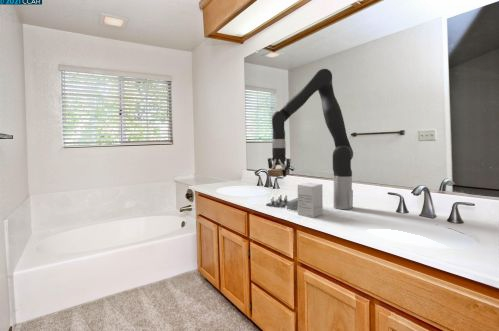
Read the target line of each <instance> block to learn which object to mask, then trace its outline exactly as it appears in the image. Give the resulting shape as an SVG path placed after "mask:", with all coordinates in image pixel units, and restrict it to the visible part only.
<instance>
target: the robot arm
mask: <svg viewBox="0 0 499 331" xmlns="http://www.w3.org/2000/svg"><path fill="white" fill-rule="evenodd" d="M316 92H318V94H319V97H320V100H321V107H322V112H323V113H322V114H323V118H324V122H325V125H326V127H327V129H328V131H329V134H330V135H331V137H332V139H333V143H334V147H335V148H334V150H333V153H332V172H333V208H334V209H338V210H351V209H352V208H353V207H354V189H352V188H353V184H352V183H353V171H352V159H353V158H354V151H353V148H352V145H351V144H350V141H349V138H348V134H347V130H346V124H345V121H344V120H345V119H344V117H343V112H342V109H341V106H340V105H339V102H338V100H337V98H336V96H335V92H334V87H333V73H332V71H331V70H330V69H328V68H320V69H319V70H318V71H317V72H316V73H315V74H314V75H313V77H311V79H310V80H309V81H308V83H307V84H306V85H305V86H303V88H302V89H300V90H299V91H298V92H297V93H296V94H295V95H294V96H293V97H291V98H290V100H288V101H287V102H286V103H285V104H284V106H283V107H282V108H281V109H280V110H277V111H274V112H273V113H272V116H271V124H272V125H271V126H272V144H271V145H272V146H271V148H272V154H271V155H272V157H271V158H270V157H268V158H267V165H268V166H267V167H268V170H272V169H277V166H280V168H283V176H282V177H283V178H285V177H287V176H288V175H287V170H288V169H290V168H291V162H292V161H291V160H292V159H291V158H286V146H287V143H286V130H285V122H286V121H287V120H288V119H289V118H291V116H292V115H293V114H295V113H296V112H297V111H299V109H300V108H302V107H303V106H304V105H305V104H306V102H307V101H308V100H309V99H310V98H311V96H313V94H315V93H316ZM290 170H291V169H290Z"/></svg>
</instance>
